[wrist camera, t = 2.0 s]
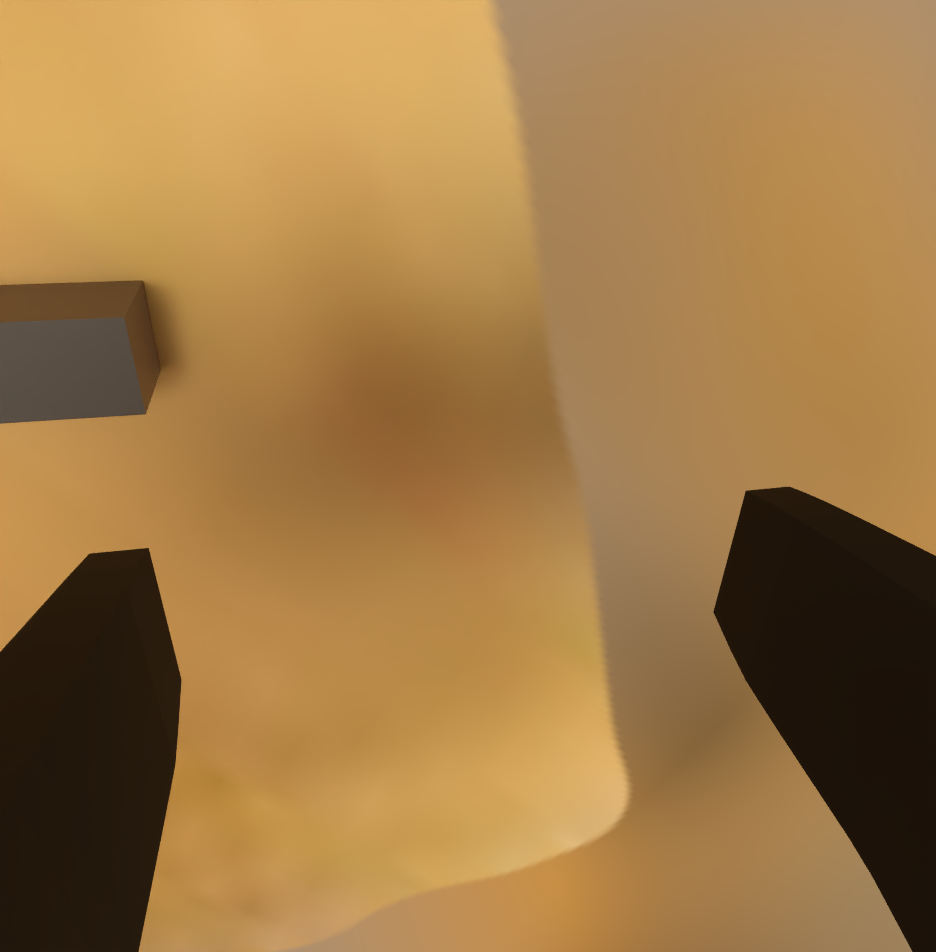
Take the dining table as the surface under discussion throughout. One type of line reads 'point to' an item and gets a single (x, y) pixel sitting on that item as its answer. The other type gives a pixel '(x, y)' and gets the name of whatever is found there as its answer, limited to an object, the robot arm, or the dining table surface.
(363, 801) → the dining table surface
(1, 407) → the plug
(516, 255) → the dining table surface
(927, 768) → the robot arm
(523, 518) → the dining table surface
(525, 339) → the dining table surface
